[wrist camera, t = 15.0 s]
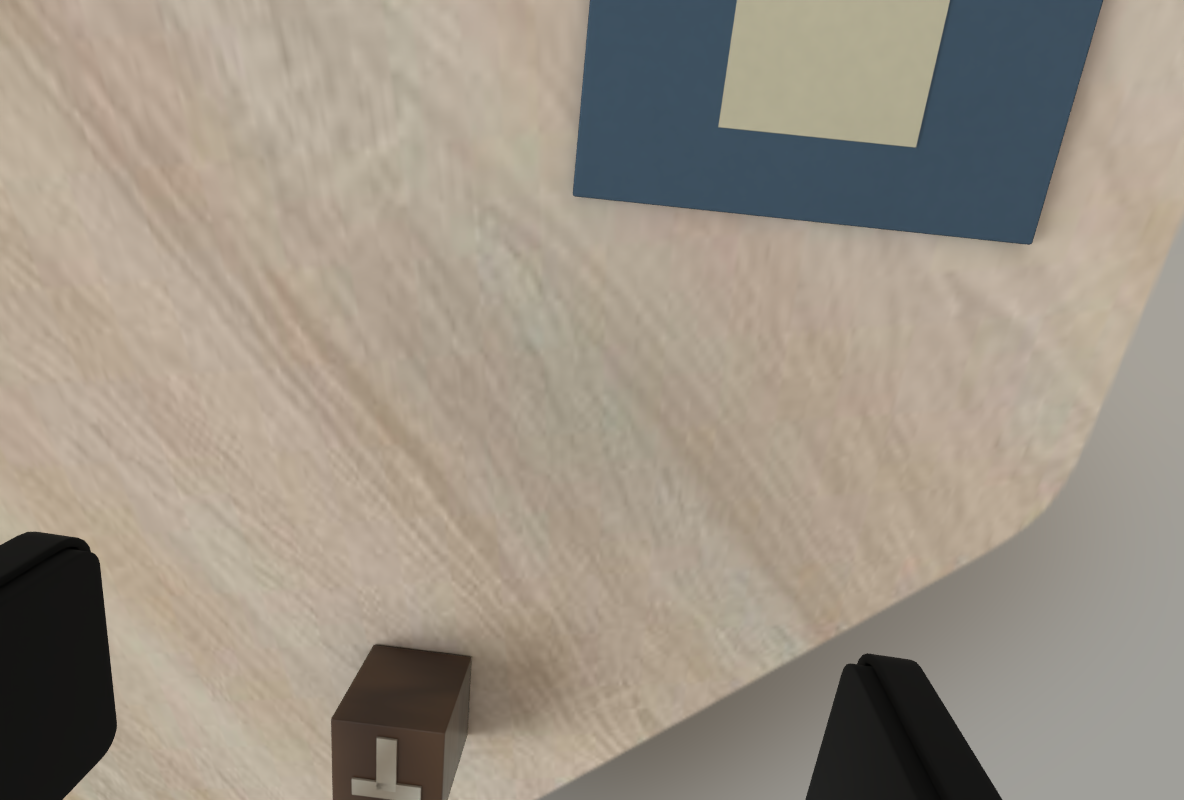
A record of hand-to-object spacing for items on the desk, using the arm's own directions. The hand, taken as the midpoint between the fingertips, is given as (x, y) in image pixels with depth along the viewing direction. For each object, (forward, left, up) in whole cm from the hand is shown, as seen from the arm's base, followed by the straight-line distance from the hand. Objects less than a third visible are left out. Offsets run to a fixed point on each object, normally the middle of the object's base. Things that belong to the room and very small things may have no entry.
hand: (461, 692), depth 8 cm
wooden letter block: (+6, +16, -18) cm, 25 cm away
